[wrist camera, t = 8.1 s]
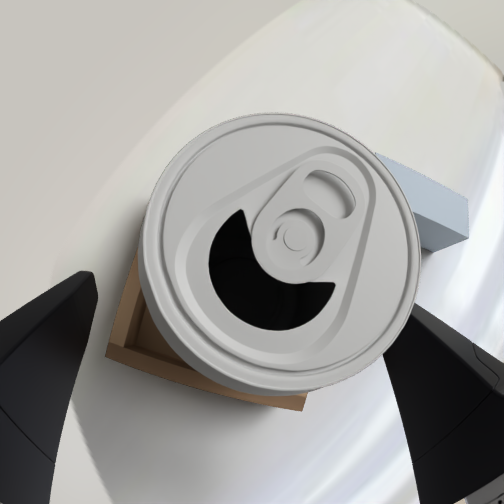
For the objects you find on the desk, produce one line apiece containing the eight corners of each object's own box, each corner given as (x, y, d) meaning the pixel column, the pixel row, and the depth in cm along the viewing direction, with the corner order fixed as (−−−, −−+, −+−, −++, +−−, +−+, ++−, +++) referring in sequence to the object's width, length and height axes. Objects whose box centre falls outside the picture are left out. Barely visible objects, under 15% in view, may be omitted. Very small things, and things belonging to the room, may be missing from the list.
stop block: (433, 252, 20) (468, 238, 16) (344, 218, 20) (372, 194, 16) (435, 217, 21) (467, 199, 17) (349, 180, 20) (375, 152, 17)
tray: (286, 398, 16) (302, 411, 14) (122, 351, 16) (104, 356, 13) (325, 241, 19) (345, 226, 16) (173, 195, 18) (167, 172, 16)
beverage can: (158, 304, 16) (54, 256, 5) (229, 219, 18) (265, 60, 6) (248, 376, 16) (328, 470, 4) (315, 287, 18) (466, 221, 6)
